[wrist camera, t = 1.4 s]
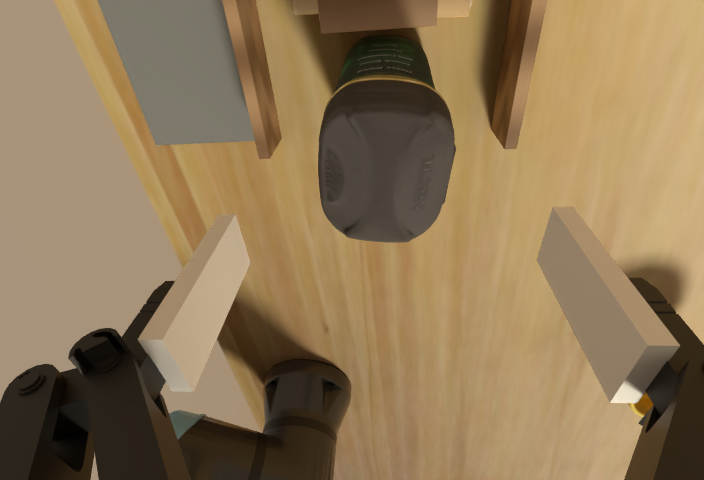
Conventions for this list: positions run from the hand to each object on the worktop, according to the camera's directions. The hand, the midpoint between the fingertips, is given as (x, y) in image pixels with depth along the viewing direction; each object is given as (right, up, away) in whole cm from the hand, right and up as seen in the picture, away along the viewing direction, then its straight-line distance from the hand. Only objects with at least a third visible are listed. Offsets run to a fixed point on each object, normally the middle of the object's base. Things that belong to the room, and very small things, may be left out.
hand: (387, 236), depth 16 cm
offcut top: (0, +18, +10) cm, 21 cm away
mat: (-17, +16, +19) cm, 30 cm away
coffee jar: (+1, +14, +19) cm, 24 cm away
